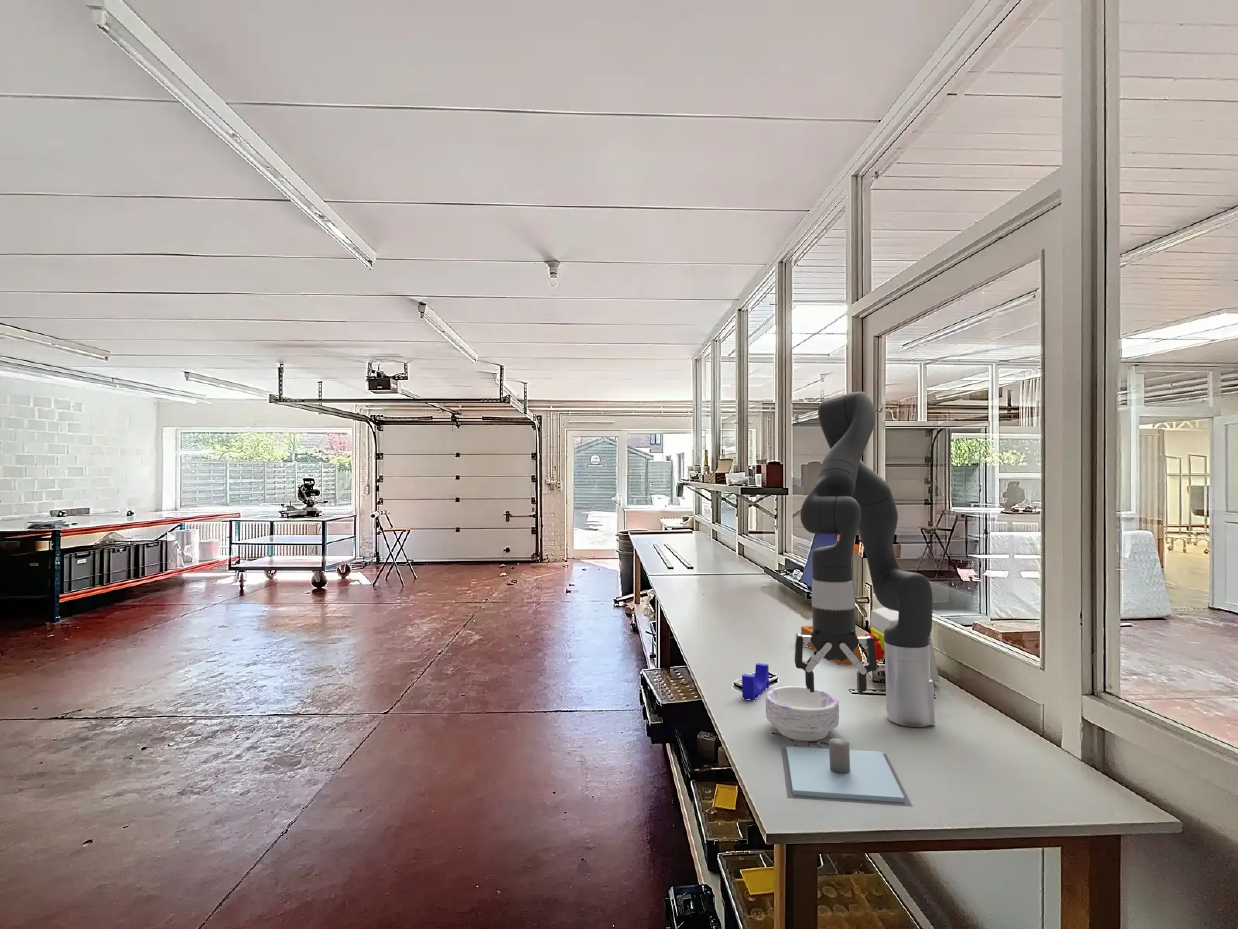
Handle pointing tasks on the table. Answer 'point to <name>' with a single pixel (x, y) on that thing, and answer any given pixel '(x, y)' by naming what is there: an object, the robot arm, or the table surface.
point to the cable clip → (755, 682)
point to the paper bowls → (802, 712)
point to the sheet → (842, 773)
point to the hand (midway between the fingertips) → (835, 692)
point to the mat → (790, 795)
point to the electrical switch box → (878, 624)
